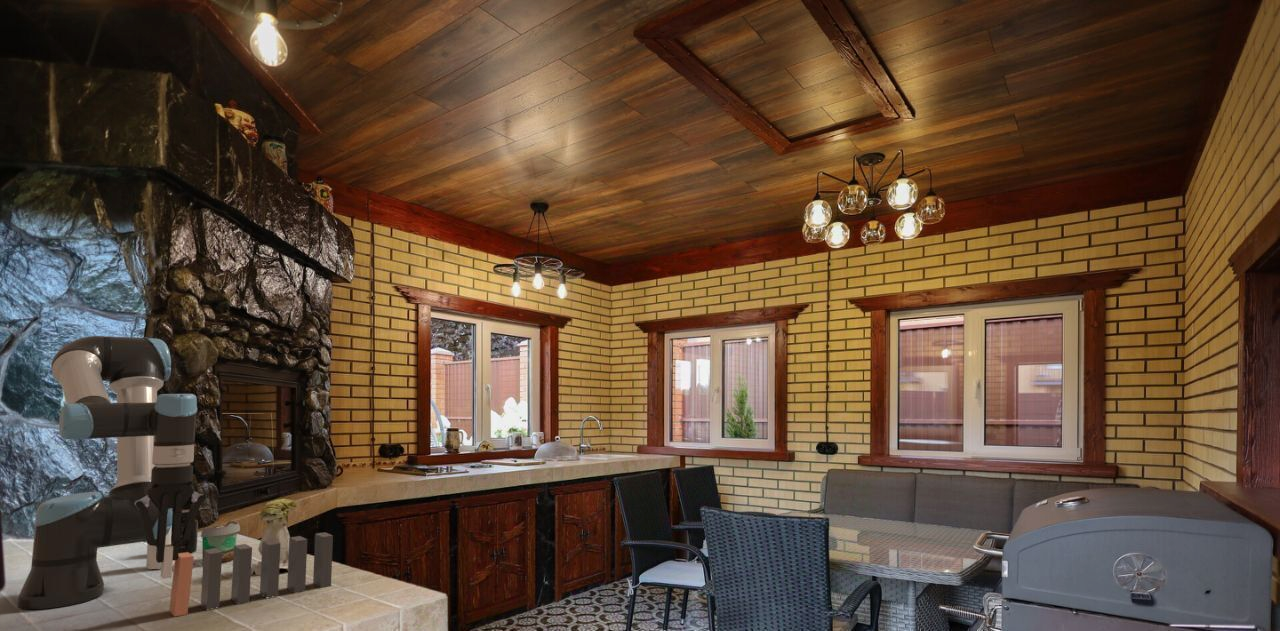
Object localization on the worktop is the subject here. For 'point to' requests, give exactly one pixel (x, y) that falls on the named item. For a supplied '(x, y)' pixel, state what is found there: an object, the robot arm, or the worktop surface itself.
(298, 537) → the domino
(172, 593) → the domino
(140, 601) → the worktop surface
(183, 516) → the supplement bottle
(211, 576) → the domino
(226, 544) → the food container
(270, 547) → the domino
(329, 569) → the domino
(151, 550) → the can
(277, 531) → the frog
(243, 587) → the domino
